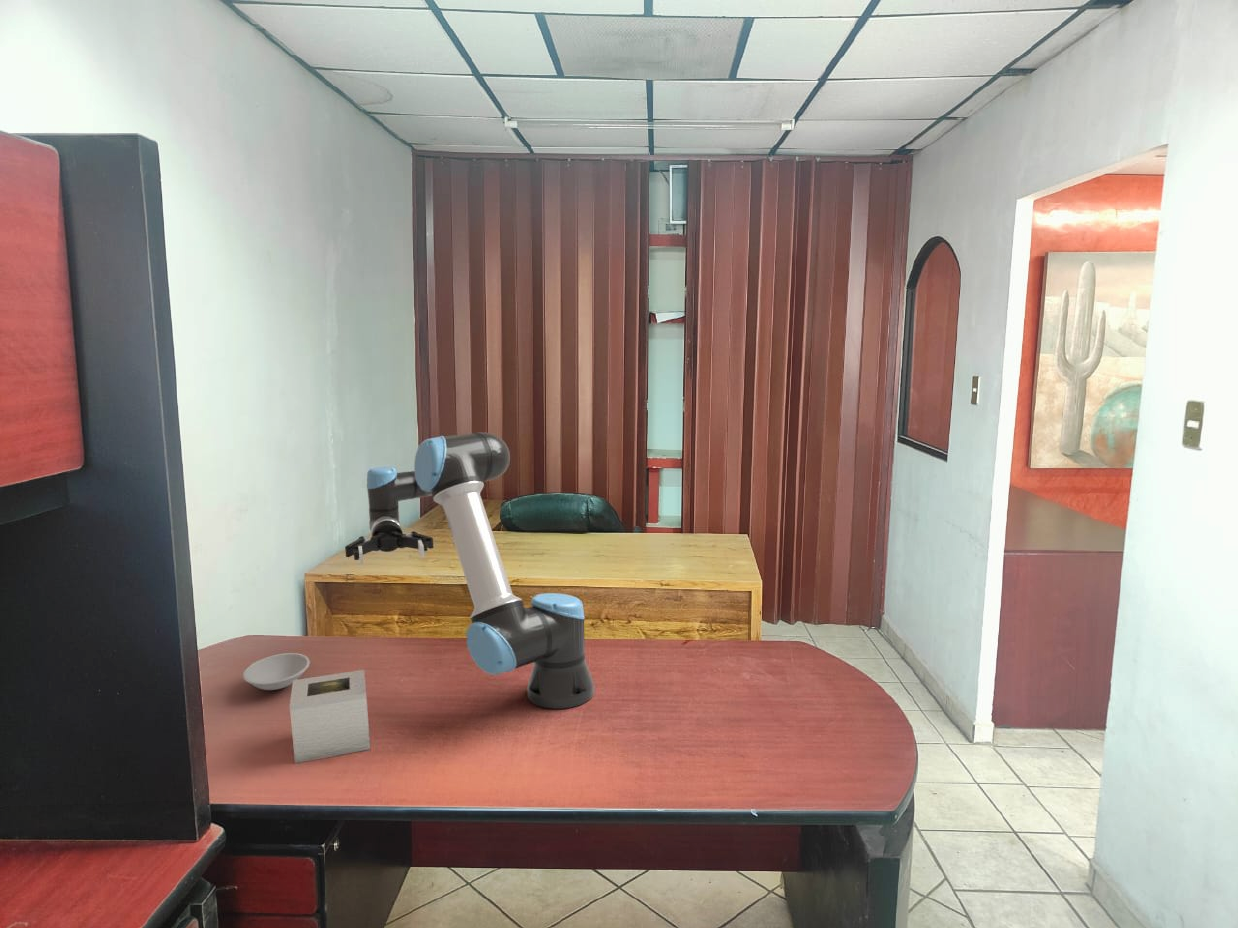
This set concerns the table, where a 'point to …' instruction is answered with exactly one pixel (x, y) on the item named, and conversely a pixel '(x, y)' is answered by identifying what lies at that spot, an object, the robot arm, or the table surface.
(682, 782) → the table surface
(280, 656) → the dish
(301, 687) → the grey tissue box
